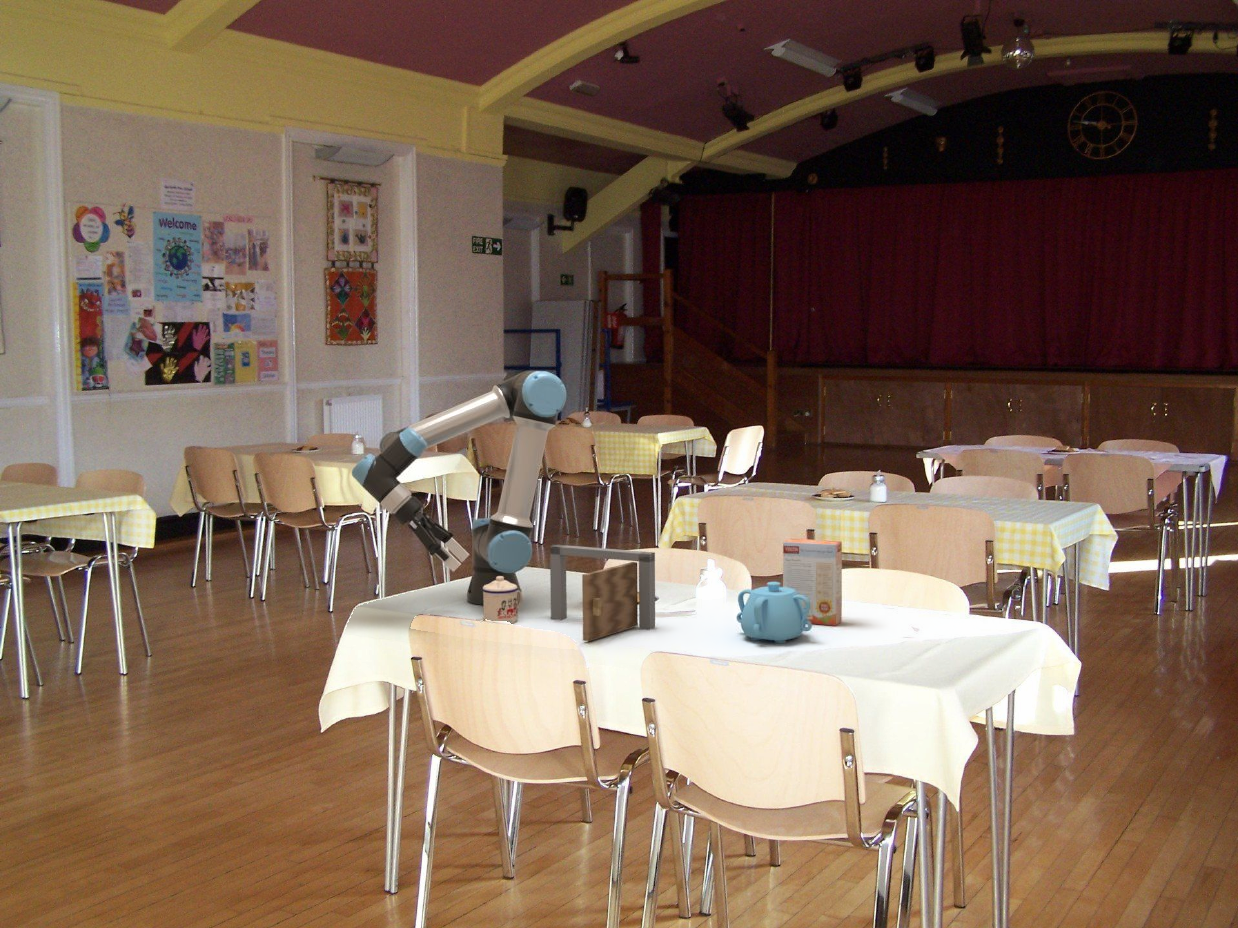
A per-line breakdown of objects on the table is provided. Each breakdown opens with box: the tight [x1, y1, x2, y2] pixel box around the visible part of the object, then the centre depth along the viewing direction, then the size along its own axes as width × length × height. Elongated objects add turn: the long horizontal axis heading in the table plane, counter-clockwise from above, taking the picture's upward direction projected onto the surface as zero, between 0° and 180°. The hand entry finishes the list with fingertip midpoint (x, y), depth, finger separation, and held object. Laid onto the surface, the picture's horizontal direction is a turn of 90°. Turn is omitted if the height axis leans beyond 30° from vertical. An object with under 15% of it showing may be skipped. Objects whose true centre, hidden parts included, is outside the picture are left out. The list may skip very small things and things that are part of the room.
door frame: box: [549, 544, 656, 631], centre depth 325 cm, size 3×28×19 cm, turn 63°
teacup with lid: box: [482, 576, 523, 624], centre depth 330 cm, size 12×9×12 cm
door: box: [581, 561, 639, 642], centre depth 312 cm, size 20×3×16 cm, turn 143°
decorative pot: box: [736, 581, 813, 644], centre depth 309 cm, size 16×16×14 cm
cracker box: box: [782, 538, 843, 627], centre depth 325 cm, size 14×6×21 cm, turn 65°
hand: (461, 563), depth 329 cm, fingers open, 13 cm apart
